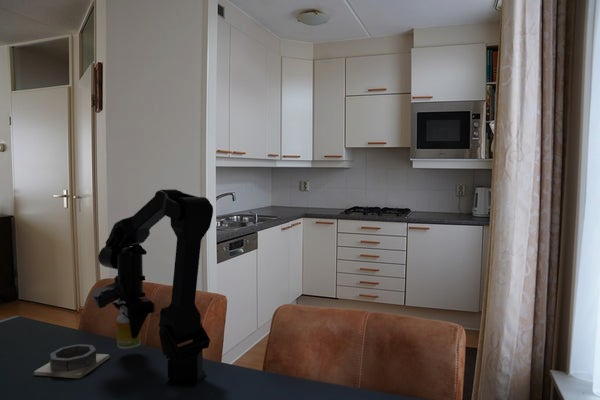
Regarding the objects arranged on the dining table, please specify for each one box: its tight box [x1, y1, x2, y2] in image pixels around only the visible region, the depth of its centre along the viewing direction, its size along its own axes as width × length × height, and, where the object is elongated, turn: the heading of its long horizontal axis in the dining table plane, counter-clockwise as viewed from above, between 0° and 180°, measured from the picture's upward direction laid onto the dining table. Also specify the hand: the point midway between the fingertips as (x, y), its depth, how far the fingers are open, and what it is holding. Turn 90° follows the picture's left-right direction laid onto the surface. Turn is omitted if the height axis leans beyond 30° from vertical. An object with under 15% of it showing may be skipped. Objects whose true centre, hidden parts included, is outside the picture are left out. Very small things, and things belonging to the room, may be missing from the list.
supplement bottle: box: [116, 306, 142, 350], centre depth 105 cm, size 5×5×10 cm
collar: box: [33, 343, 110, 379], centre depth 99 cm, size 11×11×3 cm
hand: (131, 334), depth 106 cm, fingers closed on supplement bottle, 5 cm apart
